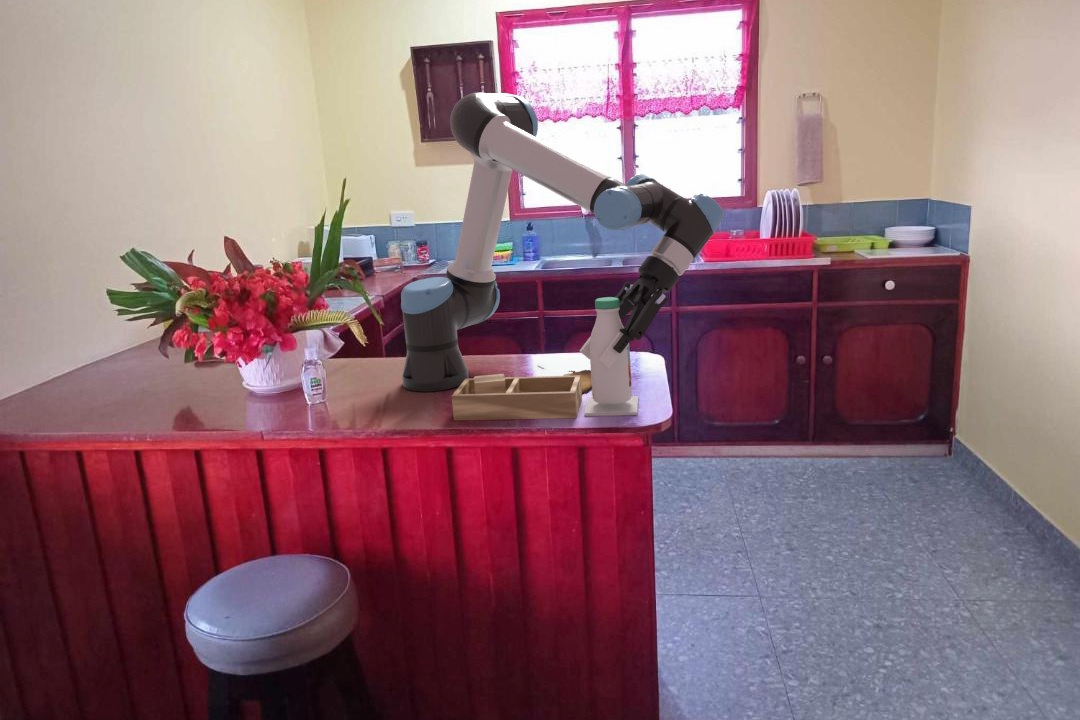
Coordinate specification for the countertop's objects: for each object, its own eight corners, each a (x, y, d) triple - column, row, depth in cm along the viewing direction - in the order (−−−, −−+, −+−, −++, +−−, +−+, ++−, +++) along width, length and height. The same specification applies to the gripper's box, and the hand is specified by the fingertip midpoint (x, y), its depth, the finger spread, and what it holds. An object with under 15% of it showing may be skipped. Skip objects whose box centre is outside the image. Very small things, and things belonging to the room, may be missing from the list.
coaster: (588, 400, 160) (588, 397, 160) (638, 398, 159) (638, 396, 158) (584, 416, 151) (584, 413, 150) (637, 415, 149) (637, 412, 149)
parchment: (568, 371, 183) (568, 367, 183) (609, 371, 180) (608, 368, 179) (530, 406, 161) (529, 402, 161) (575, 407, 158) (575, 403, 157)
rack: (468, 401, 165) (465, 378, 164) (581, 398, 161) (580, 375, 160) (454, 420, 154) (451, 396, 152) (576, 418, 150) (574, 392, 149)
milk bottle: (627, 406, 149) (622, 302, 144) (587, 404, 152) (581, 302, 147) (635, 394, 156) (631, 294, 151) (598, 393, 159) (592, 295, 154)
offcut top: (475, 392, 160) (474, 376, 159) (505, 390, 160) (503, 373, 159) (475, 400, 155) (474, 383, 154) (506, 397, 155) (504, 380, 154)
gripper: (706, 284, 145) (632, 383, 143) (650, 272, 163) (584, 359, 162) (680, 258, 142) (604, 359, 140) (626, 249, 160) (559, 338, 159)
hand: (594, 359), depth 151 cm, fingers closed on milk bottle, 8 cm apart
